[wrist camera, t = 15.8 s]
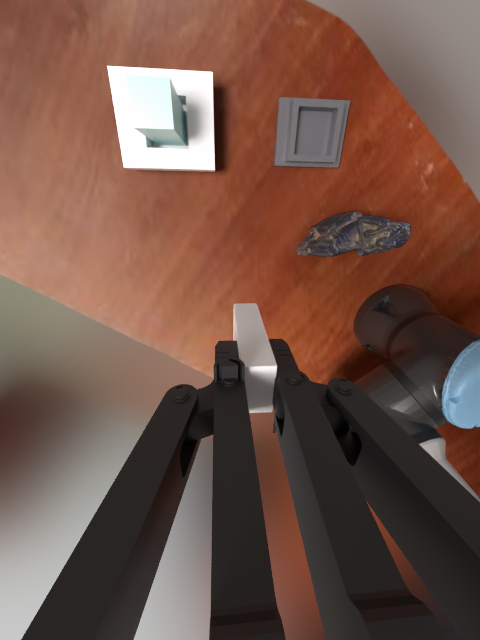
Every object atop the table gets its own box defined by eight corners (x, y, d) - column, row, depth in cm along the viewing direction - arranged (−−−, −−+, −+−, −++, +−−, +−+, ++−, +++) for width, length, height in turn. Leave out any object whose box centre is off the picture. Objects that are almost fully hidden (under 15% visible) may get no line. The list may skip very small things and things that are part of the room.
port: (213, 86, 34) (212, 71, 30) (215, 171, 39) (214, 170, 35) (121, 81, 34) (107, 65, 29) (134, 169, 38) (123, 167, 34)
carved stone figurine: (287, 236, 44) (317, 258, 31) (352, 200, 43) (413, 206, 29) (299, 264, 47) (332, 294, 34) (361, 231, 45) (421, 249, 32)
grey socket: (346, 102, 36) (357, 96, 34) (336, 167, 40) (344, 166, 37) (278, 99, 36) (282, 92, 33) (273, 166, 39) (277, 164, 37)
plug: (184, 110, 35) (169, 77, 24) (186, 146, 36) (173, 129, 26) (154, 109, 34) (125, 74, 24) (158, 145, 36) (133, 127, 26)
